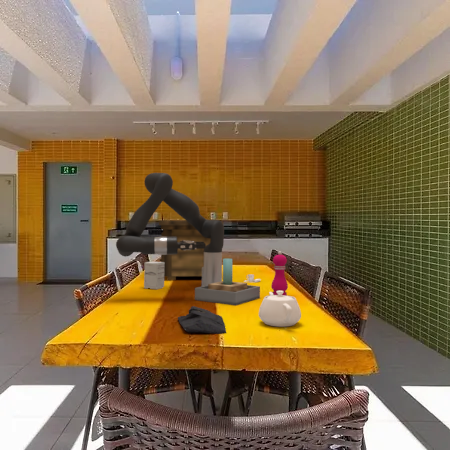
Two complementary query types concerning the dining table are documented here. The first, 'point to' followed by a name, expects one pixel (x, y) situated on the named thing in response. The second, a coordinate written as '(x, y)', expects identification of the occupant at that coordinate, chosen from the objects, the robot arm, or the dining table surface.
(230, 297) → the tray
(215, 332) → the dark gray crumpled cloth
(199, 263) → the crate
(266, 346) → the dining table surface
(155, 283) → the white marbled block
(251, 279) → the teacup and saucer
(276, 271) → the pepper mill
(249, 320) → the dining table surface
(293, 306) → the teapot
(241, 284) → the bore block
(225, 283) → the peg
